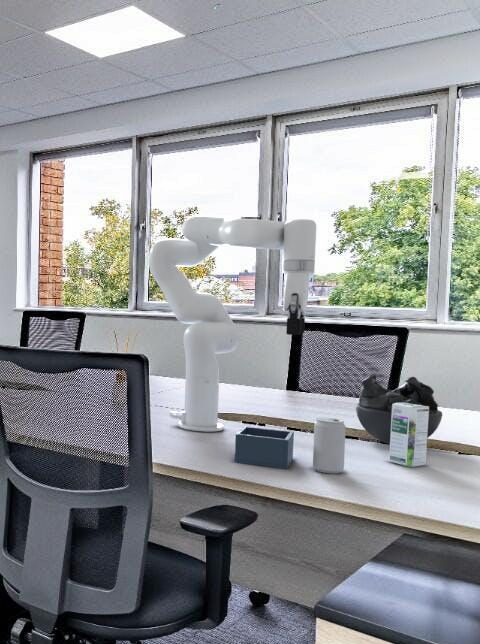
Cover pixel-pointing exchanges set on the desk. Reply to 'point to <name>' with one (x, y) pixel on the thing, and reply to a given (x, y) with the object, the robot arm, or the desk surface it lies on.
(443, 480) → the desk surface
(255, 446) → the desk bin
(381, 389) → the bowl of black rocks
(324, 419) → the beverage can
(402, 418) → the syrup box
